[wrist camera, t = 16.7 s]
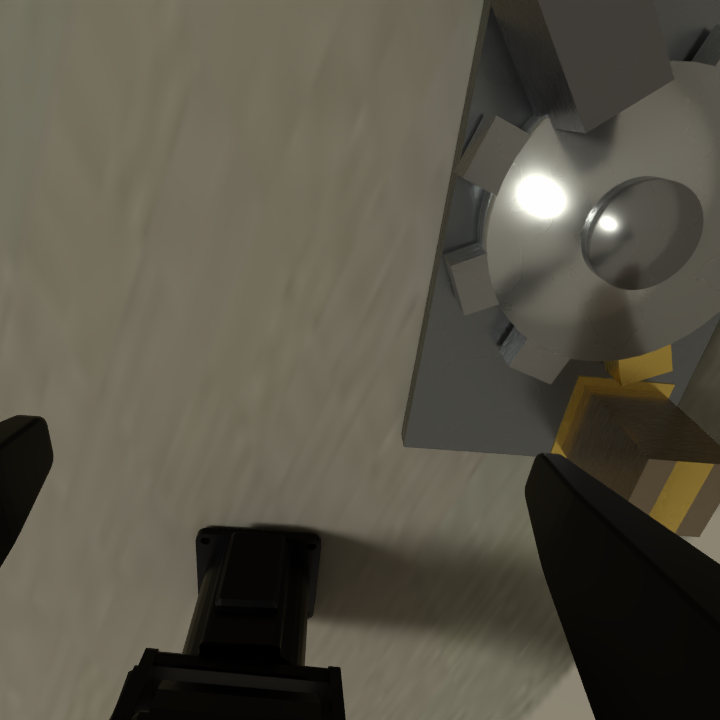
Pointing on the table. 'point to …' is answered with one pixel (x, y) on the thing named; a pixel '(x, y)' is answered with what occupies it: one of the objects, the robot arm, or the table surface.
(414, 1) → the table surface
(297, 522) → the table surface
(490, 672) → the table surface
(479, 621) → the table surface
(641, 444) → the striped gift box
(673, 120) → the sprocket
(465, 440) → the base plate
